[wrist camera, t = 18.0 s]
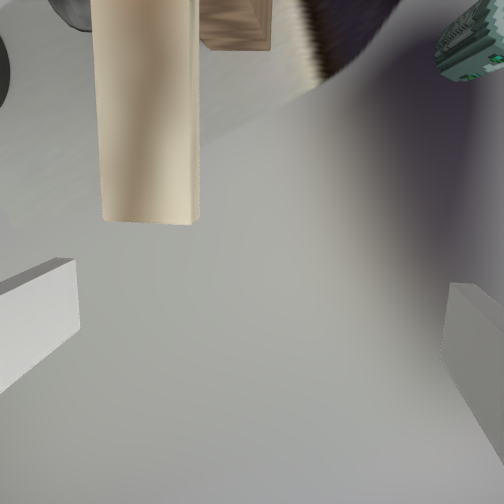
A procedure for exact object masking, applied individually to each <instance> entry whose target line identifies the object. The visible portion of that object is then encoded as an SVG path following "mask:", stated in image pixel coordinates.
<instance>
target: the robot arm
mask: <svg viewBox="0 0 504 504" xmlns="http://www.w3.org/2000/svg"><path fill="white" fill-rule="evenodd" d="M9 82H10V65H9V59H8V55H7V51H6V48H5V45H4V43H3V41H2V39H1V37H0V107H1V106H2V104H3V102H4V100H5V98H6V95H7V92H8V88H9ZM79 329H80V317H79V303H78V290H77V276H76V263H75V259H69V258H54V259H51V260H49V261H47V262H45V263H42V264H40V265H38V266H36V267H34V268H31V269H29V270H27V271H24V272H22V273H20V274H18V275H16V276H13V277H11V278H9V279H7V280H5V281H2V282H0V393H1V392H3V391H4V390H5V389H6V388H8V387H9V386H10V385H11V384H12V383H14V382H15V381H16V380H17V379H19V378H20V377H21V376H22V375H24V374H25V373H26V372H27V371H29V370H30V369H31V368H32V367H34V366H35V365H36V364H37V363H38V362H40V361H41V360H42V359H43V358H45V357H46V356H47V355H48V354H50V353H51V352H52V351H53V350H55V349H56V348H57V347H58V346H59V345H61V344H62V343H63V342H64V341H66V340H67V339H68V338H69V337H71V336H72V335H73V334H74V333H76V332H77V331H78V330H79ZM440 360H441V362H442V364H443V365H444V367H445V369H446V370H447V372H448V373H449V375H450V377H451V379H452V380H453V382H454V383H455V385H456V387H457V388H458V390H459V391H460V393H461V395H462V397H463V398H464V400H465V402H466V403H467V405H468V407H469V408H470V410H471V412H472V413H473V415H474V416H475V418H476V420H477V421H478V423H479V425H480V426H481V428H482V430H483V431H484V433H485V434H486V436H487V438H488V440H489V441H490V443H491V445H492V446H493V448H494V449H495V451H496V453H497V454H498V456H499V458H500V459H501V461H502V463H503V464H504V308H502V307H501V306H500V305H499V304H498V303H496V302H495V301H494V300H493V299H492V298H490V297H489V296H488V295H487V294H486V293H485V292H483V291H482V290H481V289H480V288H479V287H478V286H476V285H475V284H465V283H450V289H449V296H448V303H447V310H446V317H445V323H444V330H443V337H442V344H441V351H440Z"/></svg>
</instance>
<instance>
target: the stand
mask: <svg viewBox="0 0 504 504" xmlns="http://www.w3.org/2000/svg"><path fill="white" fill-rule="evenodd" d="M271 20H272V0H199V39H200V40H201V41H202V42H203V43H204V44H205V45H206V46H208V47H209V48H210V49H211V50H226V51H270V48H271Z"/></svg>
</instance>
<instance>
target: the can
mask: <svg viewBox="0 0 504 504" xmlns="http://www.w3.org/2000/svg"><path fill="white" fill-rule="evenodd" d="M434 48H435V49H437V51H436V52H435V54H434V56H433V57H435V58H436V60H435V62H436V63H437V65H436V67H437V68H438V69H440V70H442V71H441V73H440V74H442V75H443V76H445V77H447V78H449V79H451V80H453V81H455V82H457V81H459V80H461V81H463V82H465V81H468V80H471V79H473V78H477V77H479V76H482V75H484V74H487V73H489V72H492V71H494V70H497V69H499V68H502V67H504V0H479V1H478V2H477V3H475V4H474V5H473V6H472V7H471V8H469V9H468V10H467V11H466V12H465V13H464V14H462V15H461V16H460V17H459V18H458V19H457V20H455V21H454V22H453V23H452V24H451V25H449V27H447V28H446V29H445V30H444V31H443V33H442V34H441V36H440V38H439V40H438V41H437V43H436V45H435V47H434Z"/></svg>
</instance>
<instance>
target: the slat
mask: <svg viewBox="0 0 504 504" xmlns="http://www.w3.org/2000/svg"><path fill="white" fill-rule="evenodd" d="M90 1H91V18H92V36H93V54H94V72H95V90H96V108H97V125H98V143H99V161H100V179H101V197H102V213H103V221H122V222H140V223H160V224H179V225H191V224H193V223H194V222H196V221H197V220H199V0H90Z"/></svg>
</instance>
